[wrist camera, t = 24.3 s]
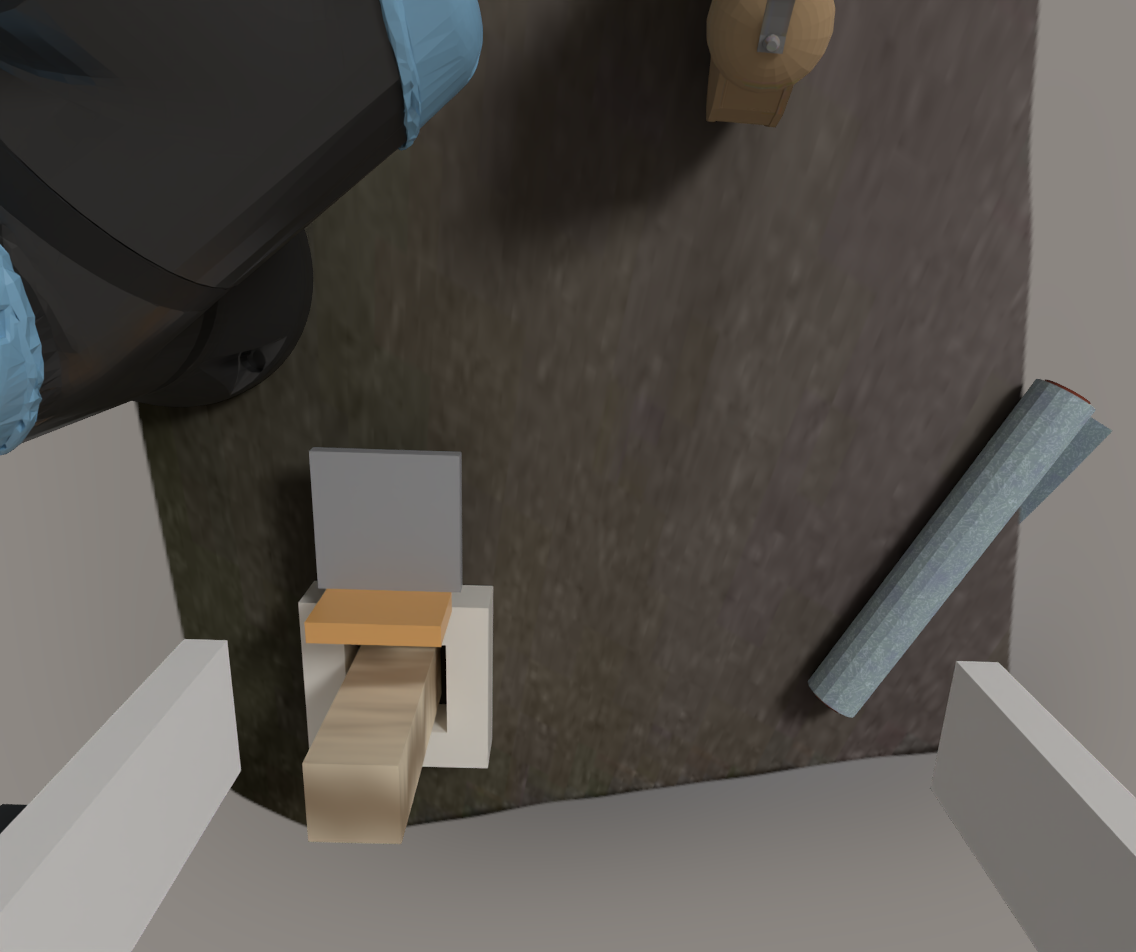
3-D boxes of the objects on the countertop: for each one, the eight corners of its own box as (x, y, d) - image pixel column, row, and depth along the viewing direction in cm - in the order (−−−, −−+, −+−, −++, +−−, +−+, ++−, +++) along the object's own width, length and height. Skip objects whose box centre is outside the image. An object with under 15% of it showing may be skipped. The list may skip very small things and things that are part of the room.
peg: (368, 629, 49) (302, 763, 37) (440, 631, 49) (398, 765, 37) (371, 691, 50) (308, 841, 38) (441, 693, 50) (401, 844, 38)
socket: (324, 733, 51) (310, 763, 48) (314, 580, 48) (298, 602, 45) (492, 738, 51) (487, 768, 48) (493, 586, 48) (488, 608, 45)
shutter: (323, 601, 45) (296, 642, 40) (313, 447, 42) (282, 473, 38) (462, 605, 45) (450, 647, 40) (461, 451, 42) (448, 478, 38)
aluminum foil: (1026, 371, 45) (1062, 382, 41) (1114, 428, 46) (1157, 442, 42) (799, 673, 50) (815, 703, 47) (882, 718, 51) (904, 750, 48)
